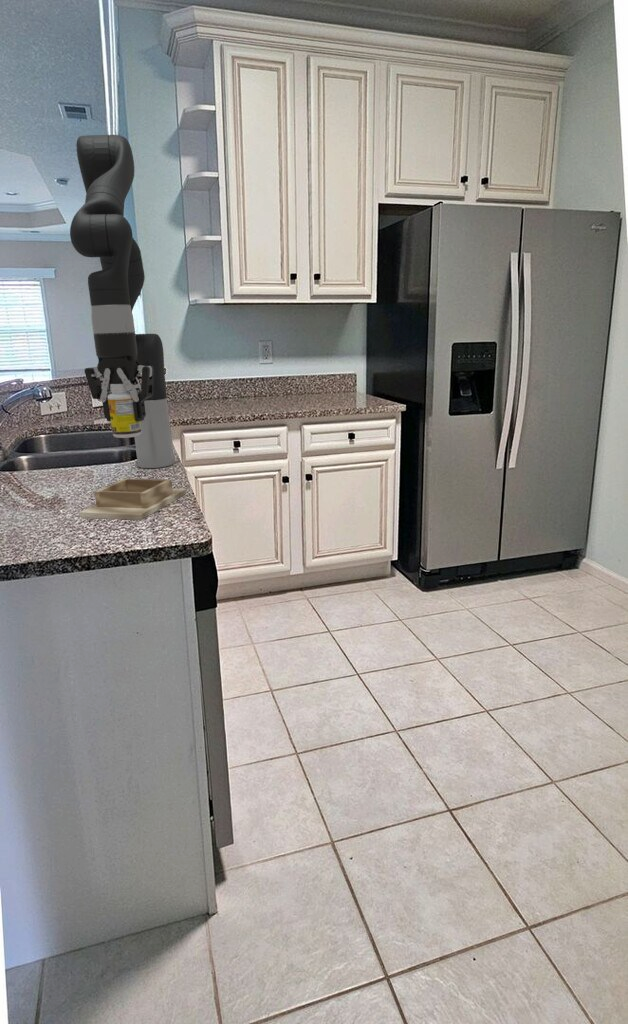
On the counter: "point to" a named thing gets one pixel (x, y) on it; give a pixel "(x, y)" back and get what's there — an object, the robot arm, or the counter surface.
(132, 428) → the supplement bottle
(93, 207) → the robot arm
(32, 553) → the counter surface
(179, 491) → the cup caddy
